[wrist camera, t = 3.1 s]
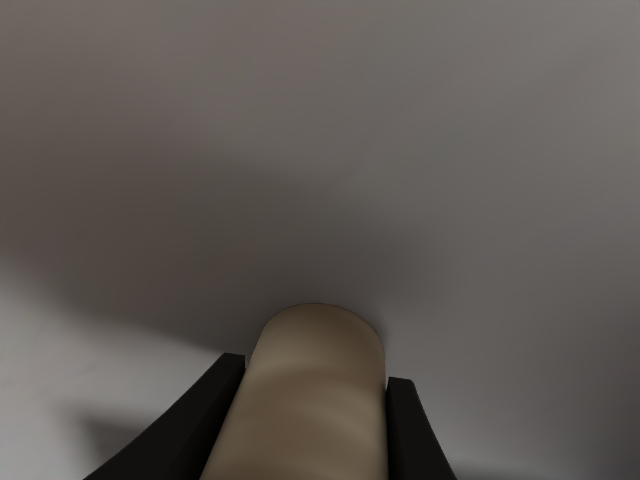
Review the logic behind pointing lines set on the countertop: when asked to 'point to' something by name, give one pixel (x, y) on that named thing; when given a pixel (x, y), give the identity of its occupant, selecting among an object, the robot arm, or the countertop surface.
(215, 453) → the peg
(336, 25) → the countertop surface
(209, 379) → the robot arm
